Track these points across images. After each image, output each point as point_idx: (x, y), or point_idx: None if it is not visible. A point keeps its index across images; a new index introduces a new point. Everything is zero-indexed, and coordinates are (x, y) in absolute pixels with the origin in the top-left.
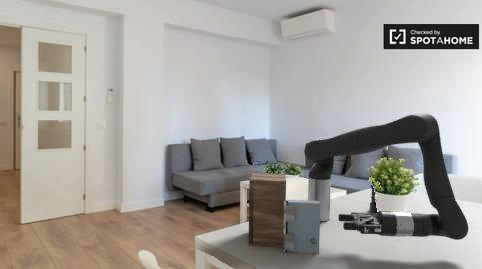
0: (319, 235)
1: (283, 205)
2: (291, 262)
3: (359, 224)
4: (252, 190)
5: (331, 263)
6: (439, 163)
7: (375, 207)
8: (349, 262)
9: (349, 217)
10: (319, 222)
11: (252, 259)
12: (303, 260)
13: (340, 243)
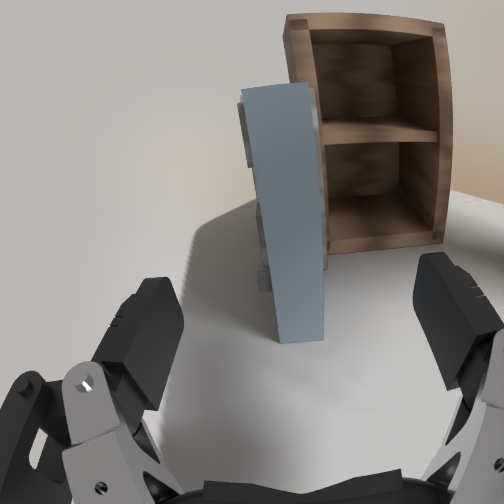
0: (271, 277)
1: None
2: (197, 276)
3: (68, 381)
4: (287, 63)
5: (176, 376)
6: None
7: None
8: (179, 448)
9: (461, 350)
10: (261, 209)
11: (221, 222)
12: (209, 300)
13: (446, 428)
